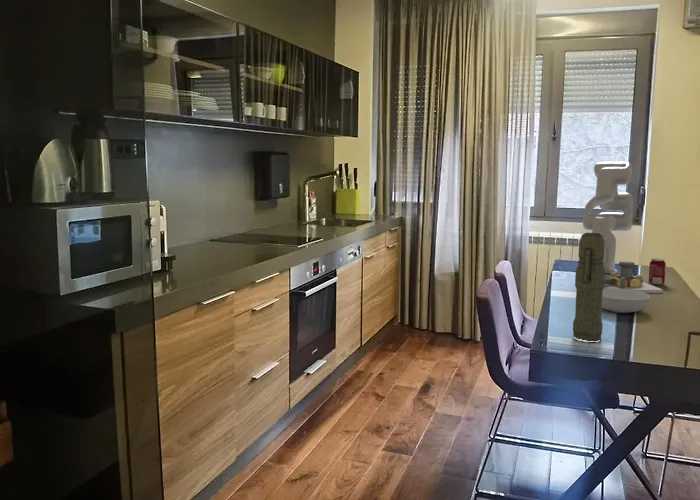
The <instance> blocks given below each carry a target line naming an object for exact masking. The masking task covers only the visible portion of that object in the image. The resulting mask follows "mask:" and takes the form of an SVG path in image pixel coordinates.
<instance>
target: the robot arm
mask: <svg viewBox="0 0 700 500" xmlns="http://www.w3.org/2000/svg"><path fill="white" fill-rule="evenodd" d="M632 165H633V164H631V162H627V161H601V162H597V163H596V164H594V167H593V171H594V175H595V177H596V190H595V195H594V196H593V197H591V198H590V200H588V201H587V203H586V204H585V206H584V209H583V215H582V216H583V217H582V227H583V228H584V229H585V230H588V231H591V233H599V234H600V235H602V236H603V239H604V243H605V245H604V258H603V263H604V264H603V266H604V270H605V274H610V273H616V274H617V273H618V269H616V268H615V264H616V246H617V239H616V236H615V235H614V234H613V232H614V231H615V232H617V231H618V232H627V231H630V230H631V229H632V227H633V215H634V211H633V210H634V199H633V195H632V194H631V193H630V192H623V191H622V192H620V191H618V186H626V185H629V183H630V182H631V180H632V179H631V178H632V174H633V166H632ZM596 207H599V209H601V210H602V211H603V212H599V213H595V214H594V213H591V212H592V211H593V210H594V209H595V208H596ZM604 211H605V212H604ZM608 211H609V212H608ZM610 211H611V212H610ZM612 211H613V212H612ZM614 211H615V212H614Z"/></svg>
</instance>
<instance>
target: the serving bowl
mask: <svg viewBox="0 0 700 500" xmlns="http://www.w3.org/2000/svg"><path fill="white" fill-rule="evenodd" d="M650 298H651V296H650V295H649V293H643V292H640V291H635V290H629V289H620V288H604V289H603V291H602V310H607V311H608V310H609V311H608V312H611V311H612V313H616V314H617V313H618V314H630V313H636V312H640V311H641V310H643V309H645V308H646V307H647V306H648V304H649V302H650Z"/></svg>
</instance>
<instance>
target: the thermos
mask: <svg viewBox="0 0 700 500" xmlns="http://www.w3.org/2000/svg"><path fill="white" fill-rule="evenodd" d="M604 245H605V243H604V239H603V236H602V235H600V234H599V233H592V232H584V233H582V235H581V236H580V240H579V242H578V255H577V256H578V261H577V266H576V269H575V277H574V278H575V281H574V282H575V283H574V287H575V288H576V289H575V290H576V292H575V293H576V294H575V311H574V312H575V314H574V319H573V321H572V332H573V333H572V334H573V336H574V337H576V338H578V339H582V340H587V341H598V340H601V341H602V334H603V320H602V310H603V308H602V291H603V289H604V284H605V278H606V273H605V270H604V266H603V264H604V263H603V258H604ZM573 336H572V337H573Z"/></svg>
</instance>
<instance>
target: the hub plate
mask: <svg viewBox="0 0 700 500" xmlns="http://www.w3.org/2000/svg"><path fill="white" fill-rule="evenodd" d="M618 265H619V267H620V272H619V275H620V286H617V285H612V284H606V285H604V288H620V289H629V290H635V291H640V292H643V293H646V294H663V292H664V289H662V288H659V287H657V286H656V285H652V284H650V283H647V282H645V281H643V285H642V286H639V287H625V278H621V276H626V279H632V276H633V269H634V268H633V267H635V262H632V261H619V262H618Z"/></svg>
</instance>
